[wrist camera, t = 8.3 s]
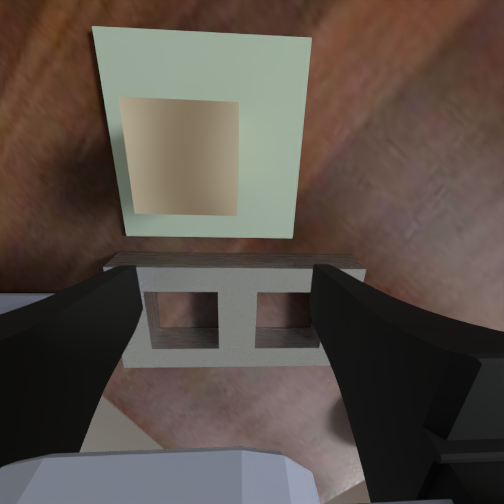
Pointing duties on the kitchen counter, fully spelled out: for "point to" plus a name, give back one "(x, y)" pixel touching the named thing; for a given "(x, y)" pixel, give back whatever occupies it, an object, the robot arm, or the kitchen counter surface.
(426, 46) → the kitchen counter surface
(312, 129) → the kitchen counter surface
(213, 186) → the peg
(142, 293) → the rail
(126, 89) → the mat
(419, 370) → the robot arm
